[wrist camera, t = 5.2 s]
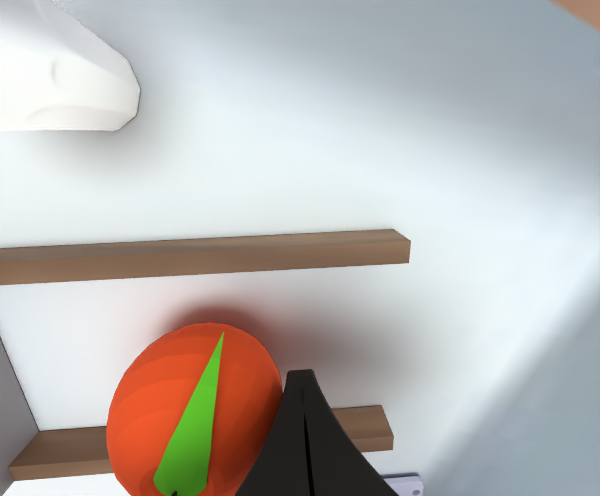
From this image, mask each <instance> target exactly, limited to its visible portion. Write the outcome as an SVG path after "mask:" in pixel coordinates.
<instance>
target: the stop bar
mask: <svg viewBox="0 0 600 496" xmlns="http://www.w3.org/2000/svg"><path fill="white" fill-rule="evenodd" d="M38 432H39V431H38V428H37V426H36V423H35V421H34V419H33V416H32V414H31V412H30V409H29V407H28V404H27V402H26V400H25V397H24V395H23V392H22V390H21V388H20V385H19V383H18V381H17V378H16V376H15V373H14V371H13V369H12V366H11V364H10V361H9V359H8V357H7V354H6V352H5V350H4V347H3V345H2V342H1V340H0V496H2V495H3V494H4V493H5V491H6V490H7V489H8V488H9V487H10V485H11V484H12V483H13V482H14V480H13V478H12V476H11V474H10V472H9V470H8V468H7V467H8V466H9V465H10V464H11V463H12V461H13V460H14V459H15V458H16V457H17V456H18V455H19V454H20V452H21V451H22V450H23V449H24V448H25V447H26V446H27V444H28V443H29V442H30V441H31V440H32V439H33V438H34V437H35V435H36V434H37V433H38Z"/></svg>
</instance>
